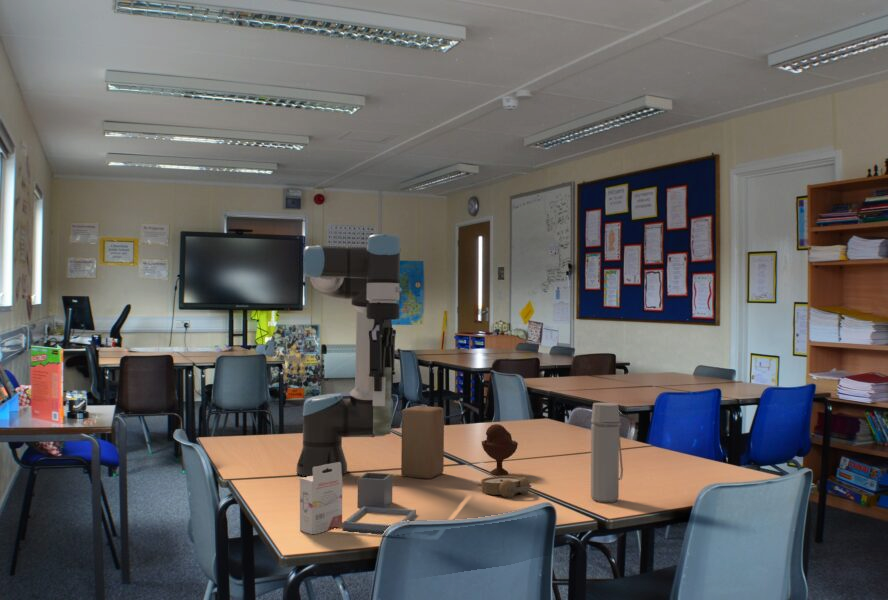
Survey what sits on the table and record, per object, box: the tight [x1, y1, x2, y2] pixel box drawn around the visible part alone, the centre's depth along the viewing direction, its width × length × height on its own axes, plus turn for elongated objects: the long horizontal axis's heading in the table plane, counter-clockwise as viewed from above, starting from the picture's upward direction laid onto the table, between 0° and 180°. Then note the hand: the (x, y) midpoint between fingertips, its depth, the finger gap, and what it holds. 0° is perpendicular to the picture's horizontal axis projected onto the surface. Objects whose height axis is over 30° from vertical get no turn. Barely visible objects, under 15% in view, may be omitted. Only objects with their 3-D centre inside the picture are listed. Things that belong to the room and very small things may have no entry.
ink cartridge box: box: [299, 462, 343, 535], centre depth 164 cm, size 9×5×15 cm, turn 138°
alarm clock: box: [477, 475, 532, 499], centre depth 199 cm, size 11×5×15 cm
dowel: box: [373, 367, 392, 436], centre depth 168 cm, size 4×4×15 cm
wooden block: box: [400, 405, 445, 480], centre depth 220 cm, size 10×10×20 cm
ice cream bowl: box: [481, 423, 519, 476], centre depth 223 cm, size 11×11×15 cm
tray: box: [342, 506, 417, 536], centre depth 167 cm, size 13×14×2 cm
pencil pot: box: [356, 472, 394, 509], centre depth 181 cm, size 7×7×8 cm
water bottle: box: [590, 402, 624, 503], centre depth 193 cm, size 9×8×25 cm
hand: (381, 404), depth 168 cm, fingers closed on dowel, 4 cm apart
